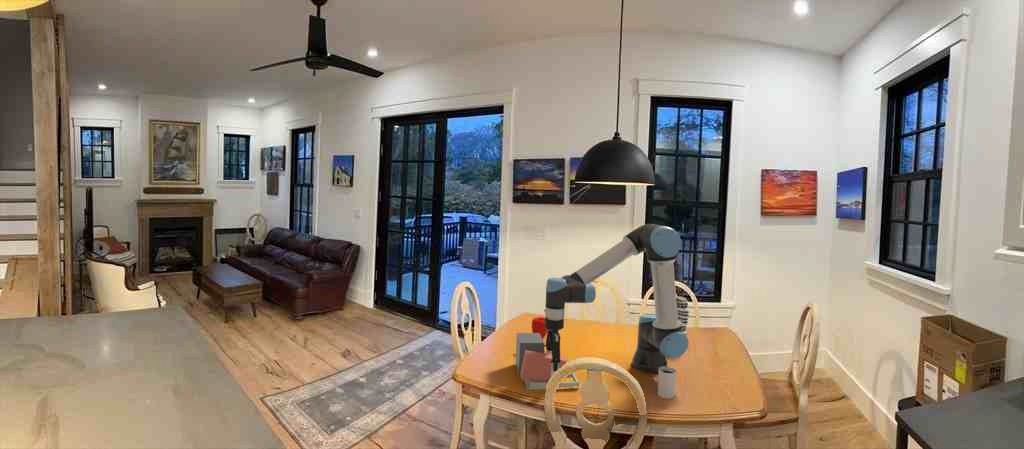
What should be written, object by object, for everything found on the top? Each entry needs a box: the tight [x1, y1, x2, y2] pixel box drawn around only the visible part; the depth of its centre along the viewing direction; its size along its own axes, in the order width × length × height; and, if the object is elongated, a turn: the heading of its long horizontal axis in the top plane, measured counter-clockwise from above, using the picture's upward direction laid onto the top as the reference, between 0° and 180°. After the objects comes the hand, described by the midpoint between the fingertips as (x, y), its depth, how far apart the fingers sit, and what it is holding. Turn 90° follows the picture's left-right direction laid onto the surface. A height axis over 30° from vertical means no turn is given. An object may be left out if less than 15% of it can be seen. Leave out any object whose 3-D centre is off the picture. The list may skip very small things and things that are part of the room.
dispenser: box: [515, 332, 546, 377], centre depth 195 cm, size 11×12×14 cm
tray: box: [524, 372, 580, 390], centre depth 182 cm, size 20×9×3 cm, turn 96°
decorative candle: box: [676, 296, 690, 336], centre depth 233 cm, size 9×9×25 cm
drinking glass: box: [657, 366, 677, 400], centre depth 177 cm, size 7×7×10 cm
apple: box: [531, 316, 547, 339], centre depth 236 cm, size 9×9×11 cm
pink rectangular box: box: [519, 350, 567, 382], centre depth 182 cm, size 16×5×10 cm, turn 96°
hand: (551, 372), depth 182 cm, fingers open, 10 cm apart
